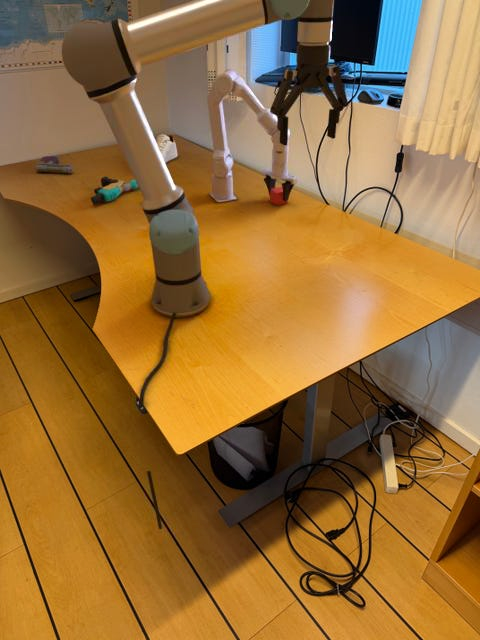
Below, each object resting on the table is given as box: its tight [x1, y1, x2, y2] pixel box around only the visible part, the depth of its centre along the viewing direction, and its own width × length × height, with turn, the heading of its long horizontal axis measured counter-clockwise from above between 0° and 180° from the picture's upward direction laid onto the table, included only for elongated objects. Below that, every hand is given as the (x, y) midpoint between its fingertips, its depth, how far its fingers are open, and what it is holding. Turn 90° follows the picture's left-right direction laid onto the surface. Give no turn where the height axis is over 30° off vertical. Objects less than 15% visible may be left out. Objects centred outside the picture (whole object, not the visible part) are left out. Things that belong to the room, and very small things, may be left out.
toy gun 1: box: [34, 155, 74, 174], centre depth 213 cm, size 4×19×15 cm
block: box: [269, 186, 289, 206], centre depth 179 cm, size 5×5×5 cm
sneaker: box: [155, 133, 179, 164], centre depth 214 cm, size 10×29×12 cm, turn 163°
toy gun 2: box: [90, 176, 139, 206], centre depth 186 cm, size 4×26×15 cm
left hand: (307, 140), depth 120 cm, fingers open, 13 cm apart
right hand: (278, 198), depth 179 cm, fingers closed on block, 6 cm apart
